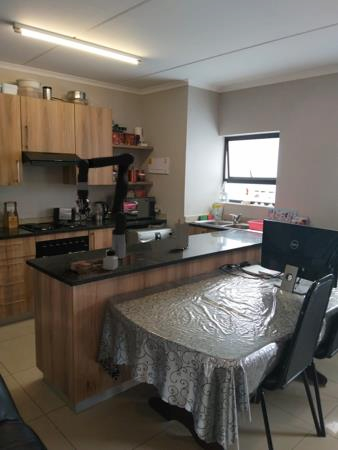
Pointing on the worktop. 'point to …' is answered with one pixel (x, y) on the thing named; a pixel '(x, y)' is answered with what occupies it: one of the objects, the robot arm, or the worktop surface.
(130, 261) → the worktop surface
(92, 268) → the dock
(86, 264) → the T block
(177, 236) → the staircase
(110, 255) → the medicine bottle
